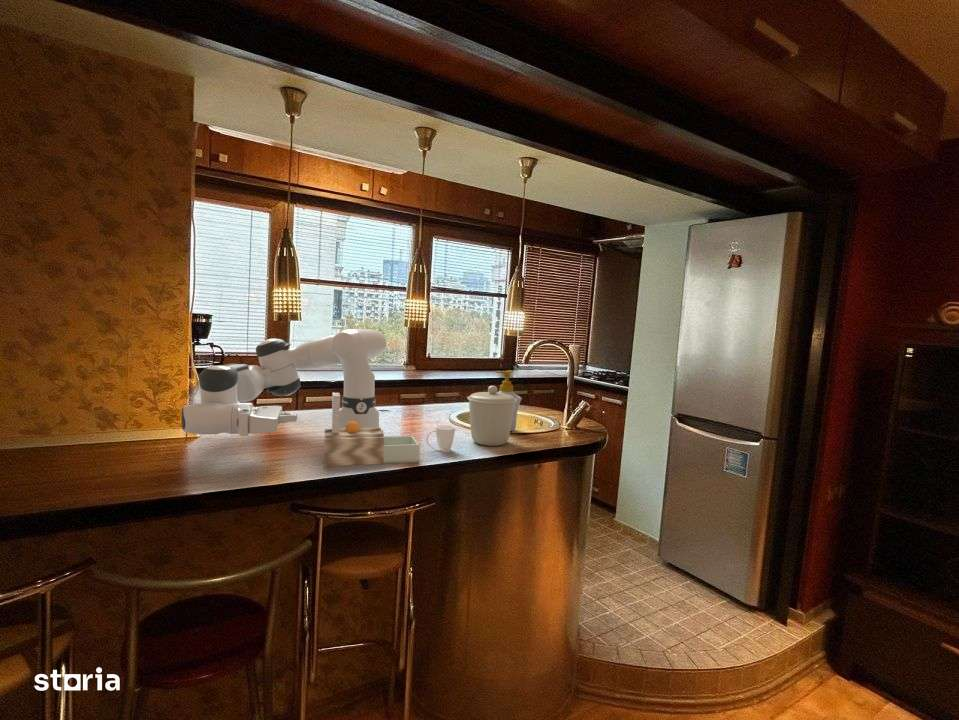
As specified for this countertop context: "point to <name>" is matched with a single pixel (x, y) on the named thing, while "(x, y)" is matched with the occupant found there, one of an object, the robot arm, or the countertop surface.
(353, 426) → the ball
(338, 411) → the plunger paddle
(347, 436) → the chevron patterned box
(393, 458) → the pale green open box
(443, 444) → the cup
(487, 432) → the canister
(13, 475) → the countertop surface
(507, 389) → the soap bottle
